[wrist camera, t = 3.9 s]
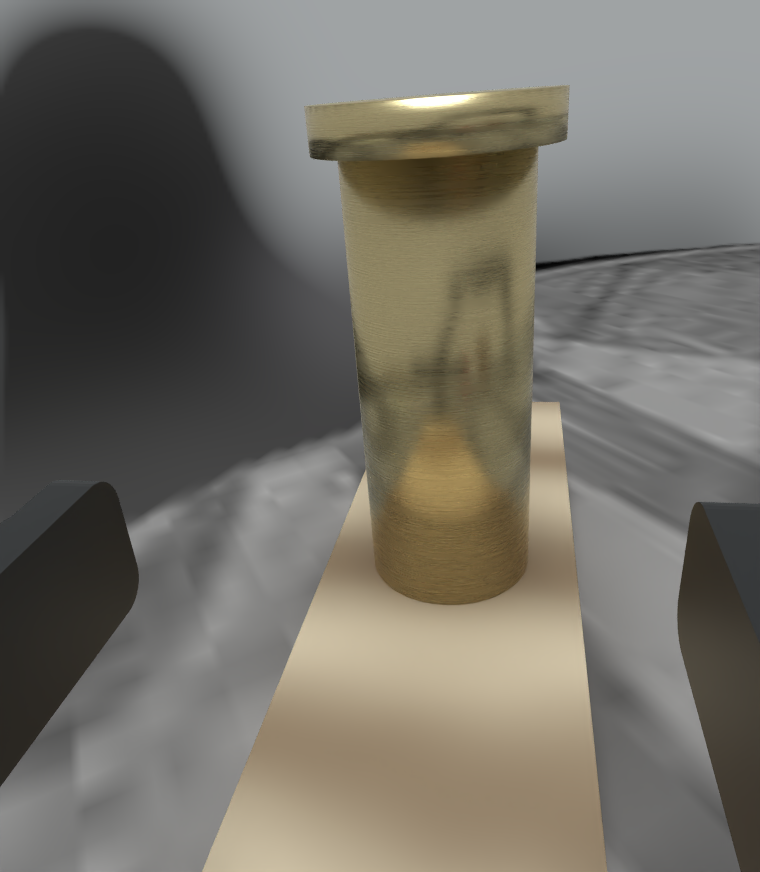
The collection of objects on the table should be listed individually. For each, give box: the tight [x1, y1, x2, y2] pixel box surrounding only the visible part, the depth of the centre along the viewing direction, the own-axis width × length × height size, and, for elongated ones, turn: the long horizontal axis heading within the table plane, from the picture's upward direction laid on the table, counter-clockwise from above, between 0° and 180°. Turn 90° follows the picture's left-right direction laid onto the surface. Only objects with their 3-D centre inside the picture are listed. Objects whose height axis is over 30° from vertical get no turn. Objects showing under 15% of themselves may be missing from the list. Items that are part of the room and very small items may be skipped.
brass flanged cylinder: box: [304, 85, 569, 605], centre depth 18 cm, size 6×6×12 cm
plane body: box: [202, 402, 607, 872], centre depth 20 cm, size 22×7×7 cm, turn 170°
